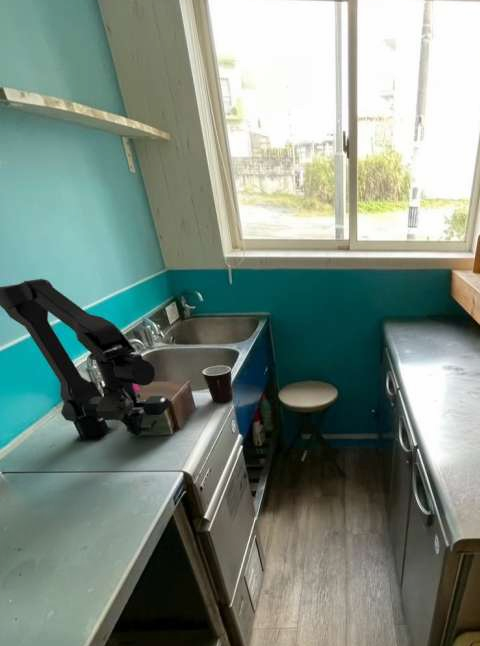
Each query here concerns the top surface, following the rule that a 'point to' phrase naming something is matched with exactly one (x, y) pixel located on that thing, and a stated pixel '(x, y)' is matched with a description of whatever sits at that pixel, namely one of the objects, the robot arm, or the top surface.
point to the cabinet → (172, 398)
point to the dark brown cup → (219, 383)
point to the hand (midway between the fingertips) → (137, 435)
